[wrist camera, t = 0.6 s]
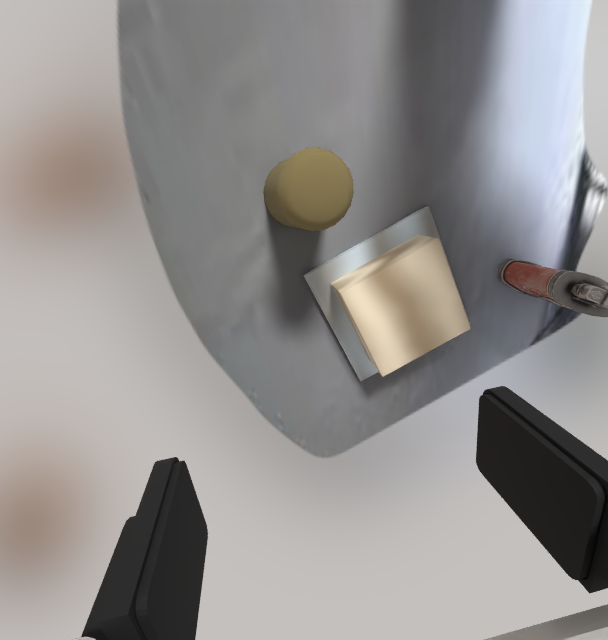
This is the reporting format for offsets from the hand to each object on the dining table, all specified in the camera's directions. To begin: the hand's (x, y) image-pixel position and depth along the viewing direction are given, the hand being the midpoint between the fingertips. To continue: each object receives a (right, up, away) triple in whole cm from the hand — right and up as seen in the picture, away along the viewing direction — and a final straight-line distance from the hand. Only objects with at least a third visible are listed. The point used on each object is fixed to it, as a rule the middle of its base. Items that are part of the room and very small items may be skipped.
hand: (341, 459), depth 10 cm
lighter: (+24, +9, +28) cm, 38 cm away
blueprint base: (+8, +7, +26) cm, 28 cm away
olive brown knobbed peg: (-2, +16, +21) cm, 27 cm away
